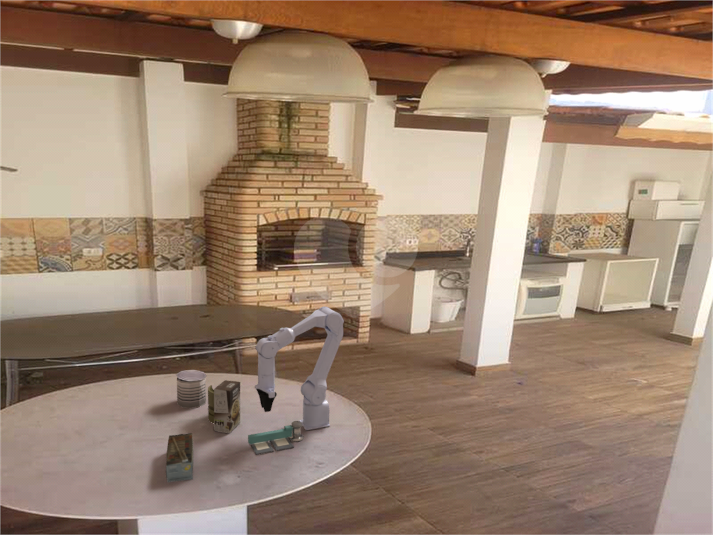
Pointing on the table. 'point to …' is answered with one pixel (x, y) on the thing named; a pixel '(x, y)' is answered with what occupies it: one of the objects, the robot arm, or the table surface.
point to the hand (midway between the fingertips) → (266, 409)
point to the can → (191, 388)
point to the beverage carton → (179, 458)
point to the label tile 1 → (262, 447)
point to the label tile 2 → (282, 444)
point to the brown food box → (211, 404)
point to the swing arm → (274, 434)
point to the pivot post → (296, 435)
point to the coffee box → (226, 406)
